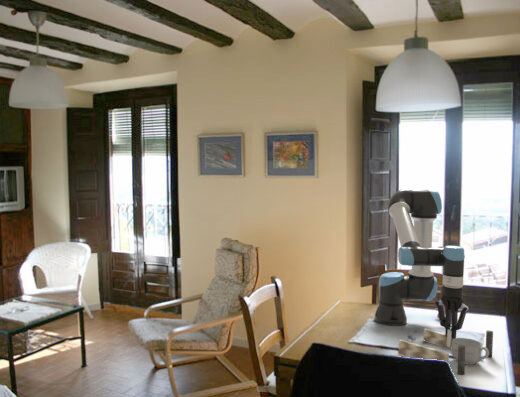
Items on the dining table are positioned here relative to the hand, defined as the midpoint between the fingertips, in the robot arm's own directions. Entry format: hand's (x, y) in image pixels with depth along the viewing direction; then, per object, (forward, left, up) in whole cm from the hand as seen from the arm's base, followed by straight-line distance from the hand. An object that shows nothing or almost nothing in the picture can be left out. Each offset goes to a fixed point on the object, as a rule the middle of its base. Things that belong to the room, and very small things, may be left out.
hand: (450, 345), depth 190 cm
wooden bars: (-3, 0, -5) cm, 5 cm away
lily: (-24, +49, -5) cm, 55 cm away
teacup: (+8, 0, -5) cm, 9 cm away
